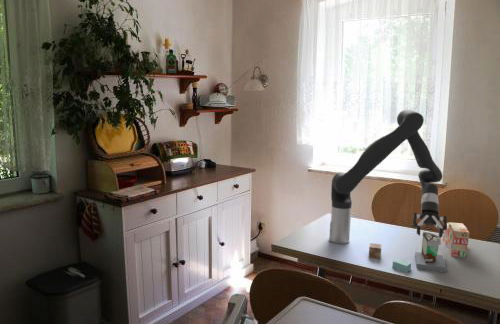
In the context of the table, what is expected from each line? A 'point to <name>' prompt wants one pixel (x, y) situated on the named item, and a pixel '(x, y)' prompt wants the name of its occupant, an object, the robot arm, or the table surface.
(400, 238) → the table surface
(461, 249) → the stack of blocks
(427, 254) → the food container
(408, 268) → the teal block
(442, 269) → the slate board
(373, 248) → the walnut block
